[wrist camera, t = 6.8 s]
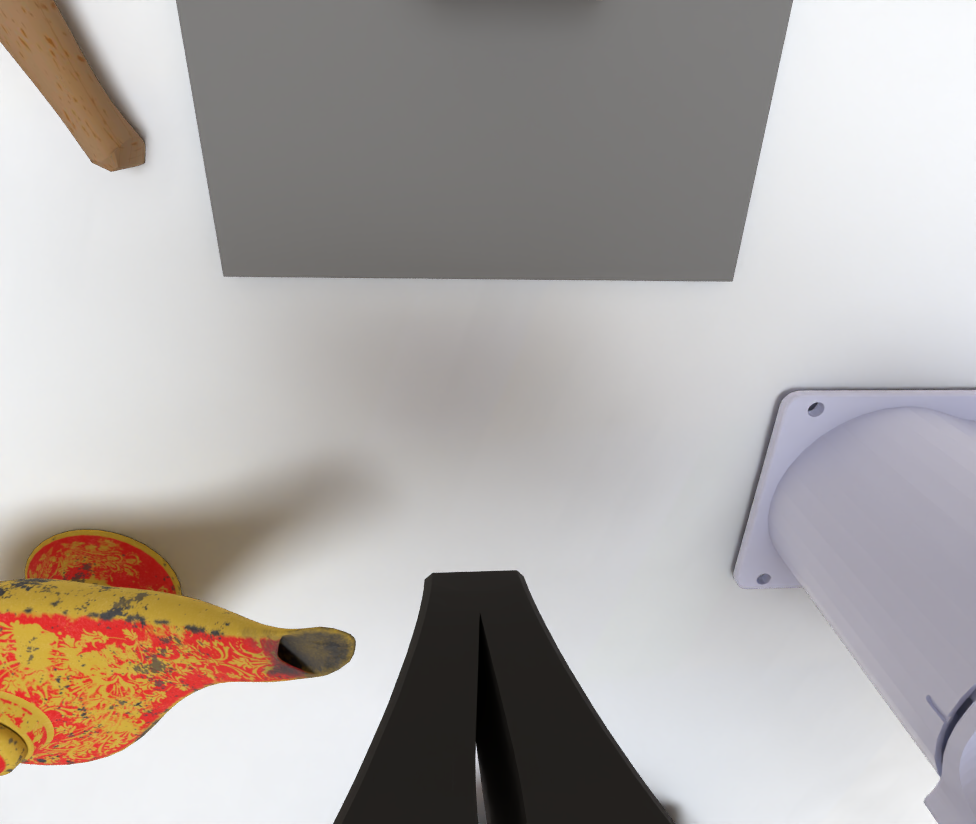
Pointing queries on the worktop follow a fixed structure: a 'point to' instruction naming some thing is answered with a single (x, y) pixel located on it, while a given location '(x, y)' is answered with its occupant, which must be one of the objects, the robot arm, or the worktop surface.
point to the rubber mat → (482, 135)
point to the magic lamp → (123, 649)
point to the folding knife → (68, 82)
